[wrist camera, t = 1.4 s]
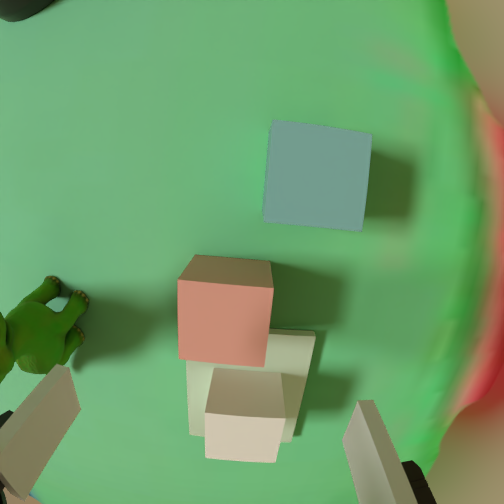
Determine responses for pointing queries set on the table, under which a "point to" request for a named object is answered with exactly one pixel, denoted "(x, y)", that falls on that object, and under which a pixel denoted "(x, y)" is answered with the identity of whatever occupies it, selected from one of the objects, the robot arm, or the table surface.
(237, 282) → the brick coral
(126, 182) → the table surface
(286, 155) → the brick teal
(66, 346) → the toy
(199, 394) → the plate
